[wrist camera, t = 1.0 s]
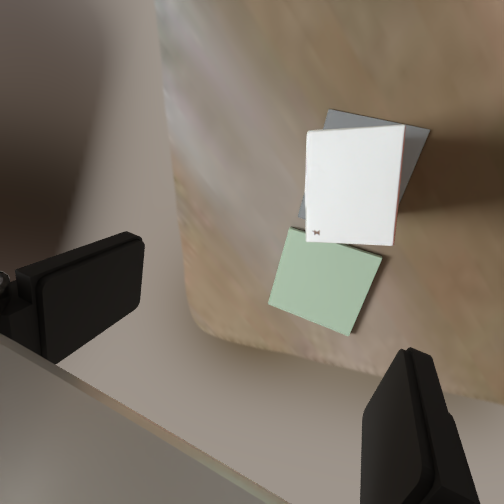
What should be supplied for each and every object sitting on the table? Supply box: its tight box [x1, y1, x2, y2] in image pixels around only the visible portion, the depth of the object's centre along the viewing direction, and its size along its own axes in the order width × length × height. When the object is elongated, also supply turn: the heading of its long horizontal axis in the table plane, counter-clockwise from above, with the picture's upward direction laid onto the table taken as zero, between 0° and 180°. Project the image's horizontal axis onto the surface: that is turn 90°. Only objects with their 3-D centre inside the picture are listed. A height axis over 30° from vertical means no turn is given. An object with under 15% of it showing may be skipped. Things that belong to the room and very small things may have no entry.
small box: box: [305, 124, 406, 246], centre depth 26 cm, size 8×6×13 cm
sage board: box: [268, 227, 382, 336], centre depth 36 cm, size 11×11×1 cm
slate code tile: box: [298, 109, 430, 219], centre depth 32 cm, size 12×10×1 cm
